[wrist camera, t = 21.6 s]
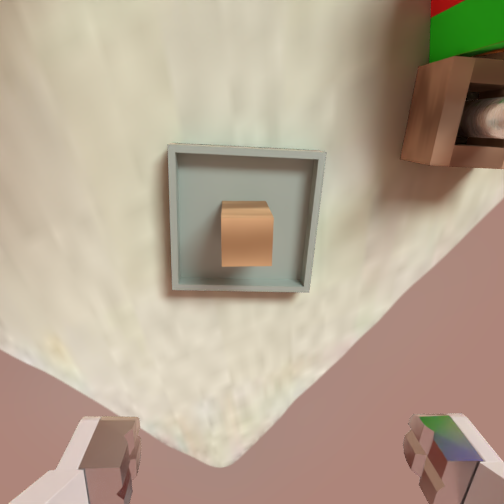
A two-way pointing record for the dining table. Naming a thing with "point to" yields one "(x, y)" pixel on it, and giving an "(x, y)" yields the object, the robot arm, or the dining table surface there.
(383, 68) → the dining table surface
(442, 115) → the brown square socket box
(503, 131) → the cylinder
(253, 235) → the oak block
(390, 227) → the dining table surface
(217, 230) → the tray
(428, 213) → the dining table surface
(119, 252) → the dining table surface
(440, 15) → the puzzle toy
